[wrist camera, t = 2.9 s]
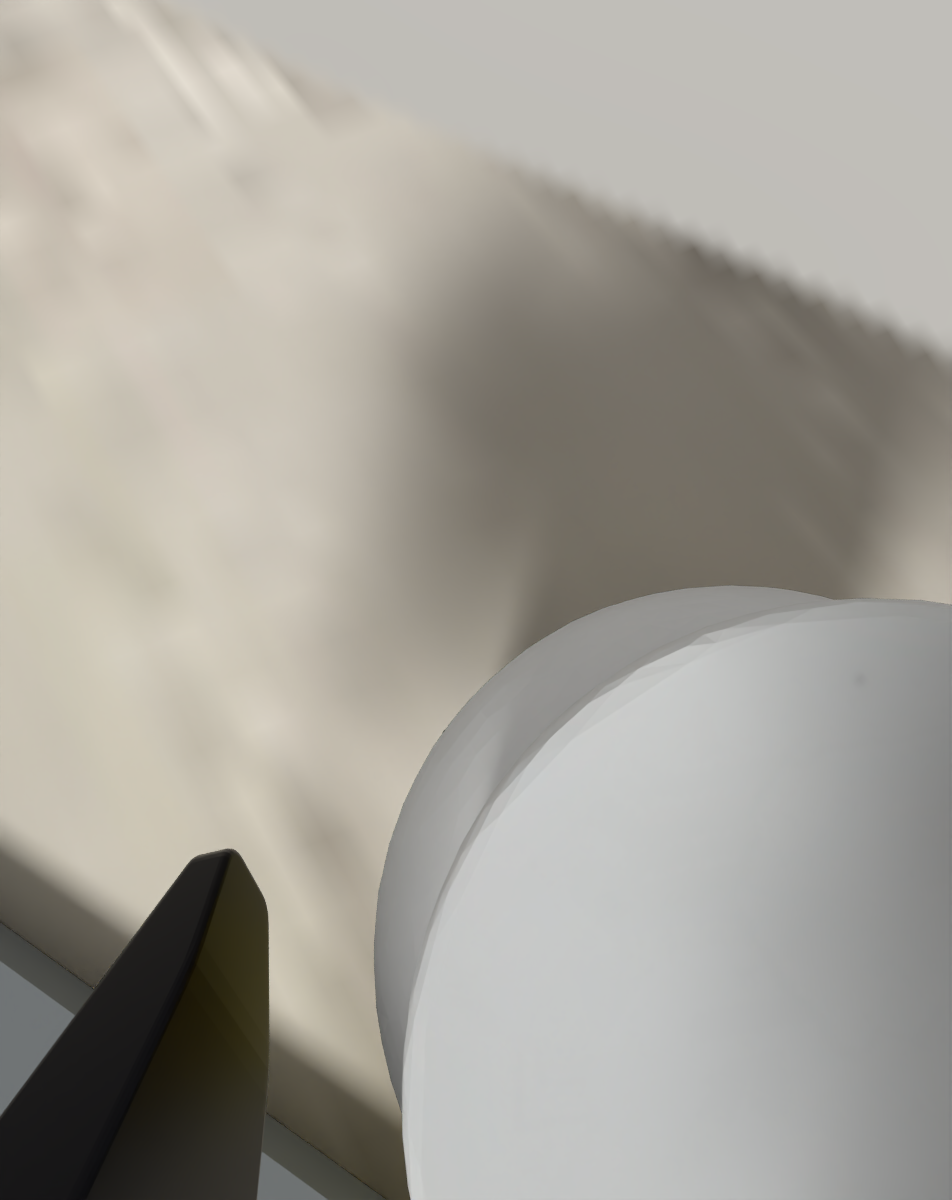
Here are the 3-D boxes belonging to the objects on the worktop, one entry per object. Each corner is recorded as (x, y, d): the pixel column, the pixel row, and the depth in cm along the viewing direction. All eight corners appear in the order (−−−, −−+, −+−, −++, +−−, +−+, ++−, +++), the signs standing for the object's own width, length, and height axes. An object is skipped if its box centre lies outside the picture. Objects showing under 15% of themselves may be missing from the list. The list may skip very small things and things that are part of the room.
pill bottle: (567, 615, 15) (648, 243, 4) (872, 790, 14) (1951, 863, 3) (393, 909, 14) (-36, 1336, 4) (704, 1118, 13) (1426, 2612, 3)
